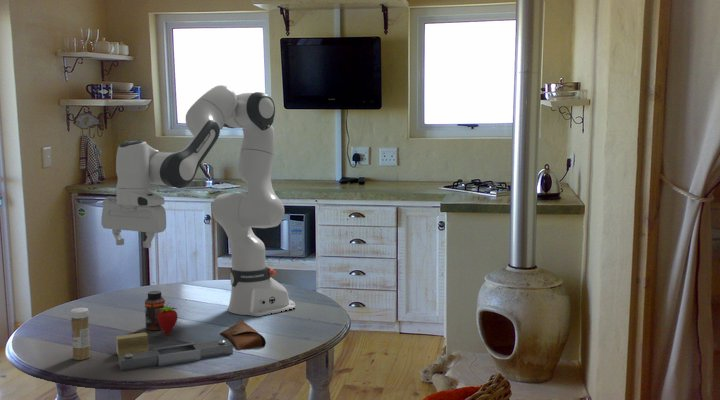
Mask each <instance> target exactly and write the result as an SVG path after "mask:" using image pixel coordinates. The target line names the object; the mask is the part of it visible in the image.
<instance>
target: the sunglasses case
mask: <svg viewBox="0 0 720 400" xmlns="http://www.w3.org/2000/svg"><path fill="white" fill-rule="evenodd" d="M219 335H220V336H222V337H223V338H224V339H225V340H227V339H228V340H229V341H230V342H231V343H232V344H233V347H235V348H236V350H237V351H243V350H249V349H250V350H251V349H256V348H262V347H265V346H266V344H267V341H266V338H265V337H264V336H263V335H262V334H261V333H259V332H258V331H257V330H256V329H254V328H253V327H252V326H250V325H249V324H248V323H246V322H245V321H243V320H242V319H239V321H238V322H236V323H234V324H233V325H231V326H229V327H227V328H226V329H225V330H223V331H221V332H220V333H219Z"/></svg>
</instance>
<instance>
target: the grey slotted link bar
mask: <svg viewBox="0 0 720 400" xmlns="http://www.w3.org/2000/svg"><path fill="white" fill-rule="evenodd" d="M231 354H234V345H233V344H232V343H231V342H230V341H229V340H228V339H220V340H213V341H209V342H201V343H195V342H190V343H182V344H175V345H170V346H169V345H168V346H163V347H162V346H161V347H160V346H159V347H155V348H154V347H153V349H151V350H149V351H144V352H137V353H127V354H123V355H117V357H118V359H117V360H118V365H119V368H120V371H127V370H133V369H140V368H146V367H147V368H148V367H153V366H158V367H162V366H169V365H176V364H181V363H188V362H194V361H200V360H201V359H207V358H210V357H211V358H213V357H219V356H225V355H231Z"/></svg>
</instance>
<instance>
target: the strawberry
mask: <svg viewBox="0 0 720 400" xmlns="http://www.w3.org/2000/svg"><path fill="white" fill-rule="evenodd" d="M169 304H170V302H168V303H167V305H165V306H164V308H160V309H159V310H161V311H159V313H158V314H157V320H158V323H159V325H160V327H161V328H162V329H161V330H162V331H163V332H164V334H165V335H170V333H171V332H172V330H173V329H174V327H175V326H176V324H177V322H178V313H177V311H176V310H177V309H178V308H177V307H171V306H168V305H169Z"/></svg>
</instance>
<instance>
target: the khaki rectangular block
mask: <svg viewBox="0 0 720 400" xmlns="http://www.w3.org/2000/svg"><path fill="white" fill-rule="evenodd" d="M115 338H116V339H115V341H116V344H115V345H116V354H117V356H118V355H123V354H127V353H137V352H144V351H150V350H149V335H148V333H147V332H137V333H131V334H124V335H117V336H115Z"/></svg>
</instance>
